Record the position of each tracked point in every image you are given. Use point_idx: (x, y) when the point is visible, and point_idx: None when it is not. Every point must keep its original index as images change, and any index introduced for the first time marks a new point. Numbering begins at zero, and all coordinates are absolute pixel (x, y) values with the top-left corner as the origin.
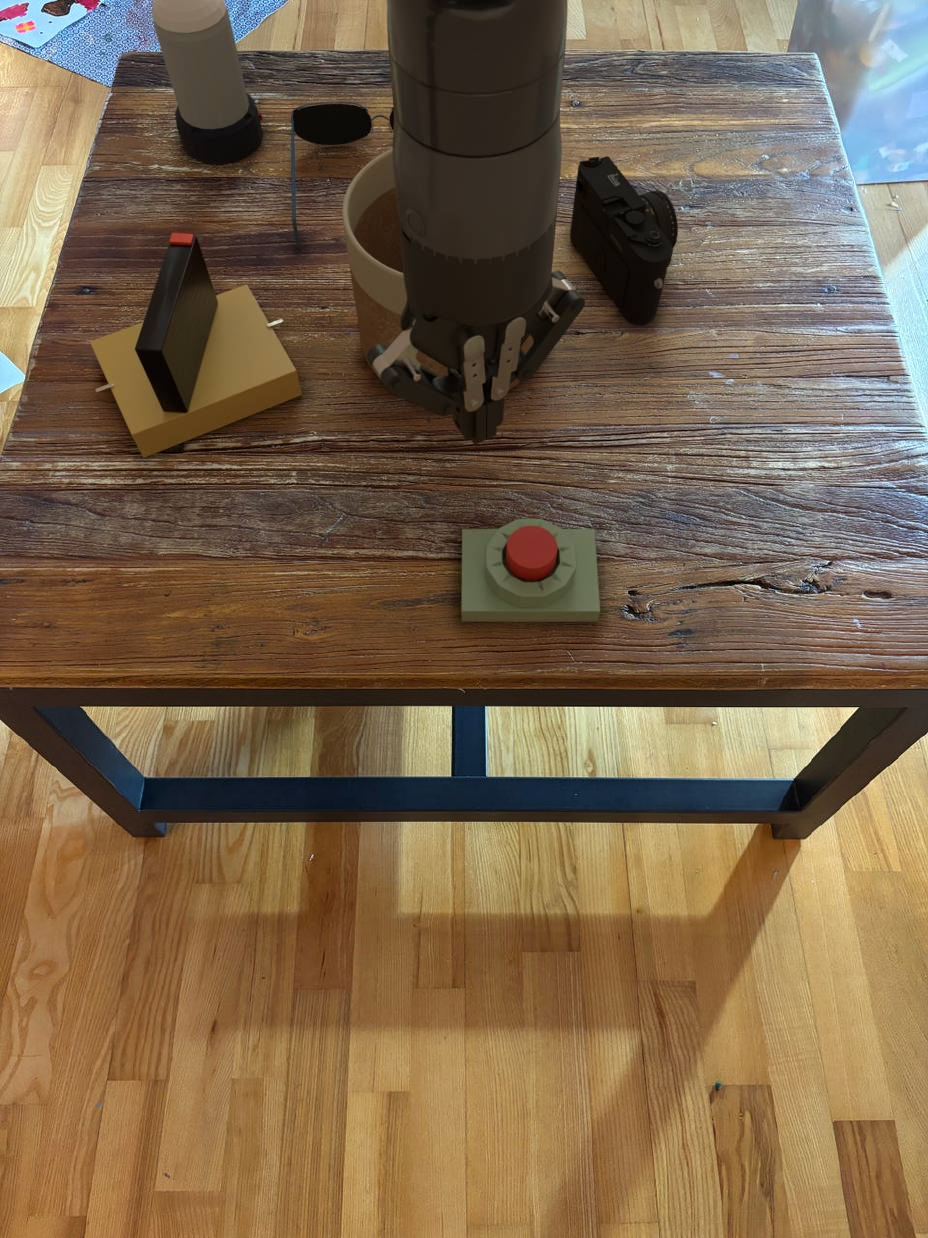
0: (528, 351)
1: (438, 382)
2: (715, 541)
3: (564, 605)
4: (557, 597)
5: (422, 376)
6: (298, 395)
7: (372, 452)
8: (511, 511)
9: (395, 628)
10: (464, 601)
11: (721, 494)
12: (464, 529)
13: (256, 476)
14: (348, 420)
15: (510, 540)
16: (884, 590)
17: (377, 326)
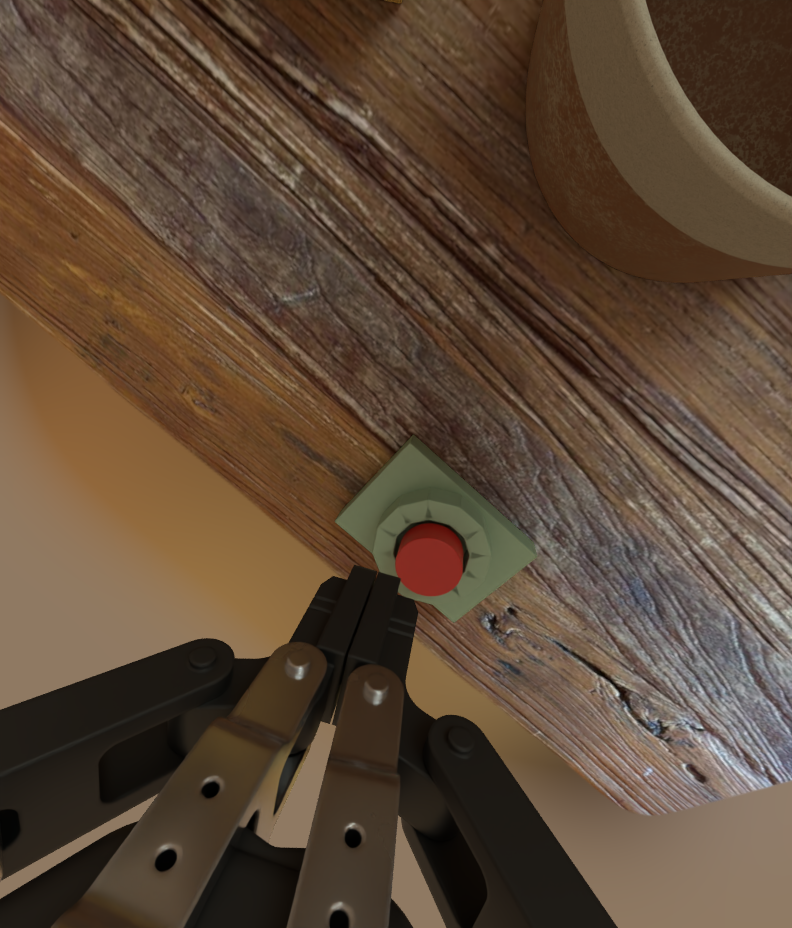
0: (441, 892)
1: (191, 724)
2: (639, 637)
3: None
4: None
5: (70, 803)
6: (393, 1)
7: (416, 221)
8: (493, 445)
9: (279, 465)
10: (344, 515)
11: (710, 608)
12: (411, 445)
13: (249, 130)
14: (428, 128)
15: (413, 543)
16: (706, 776)
17: (547, 15)
